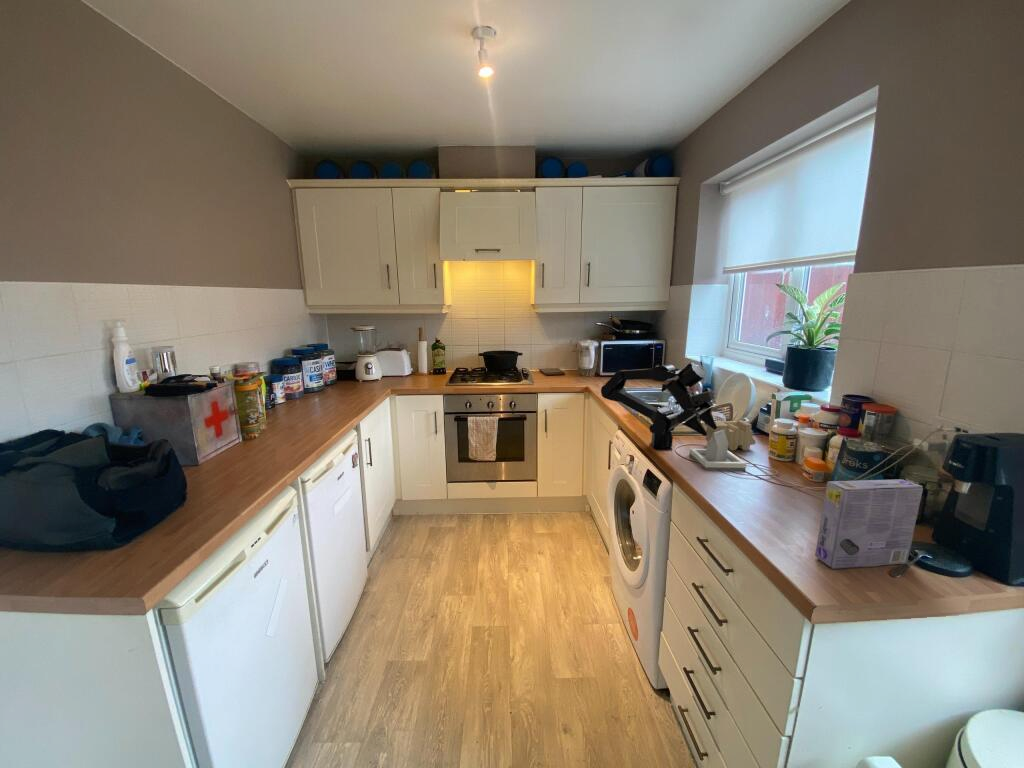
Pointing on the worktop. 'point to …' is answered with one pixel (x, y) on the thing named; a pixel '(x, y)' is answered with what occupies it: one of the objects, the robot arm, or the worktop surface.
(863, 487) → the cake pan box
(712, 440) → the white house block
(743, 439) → the toy train
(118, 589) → the worktop surface
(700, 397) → the robot arm
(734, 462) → the tray
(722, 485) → the worktop surface
